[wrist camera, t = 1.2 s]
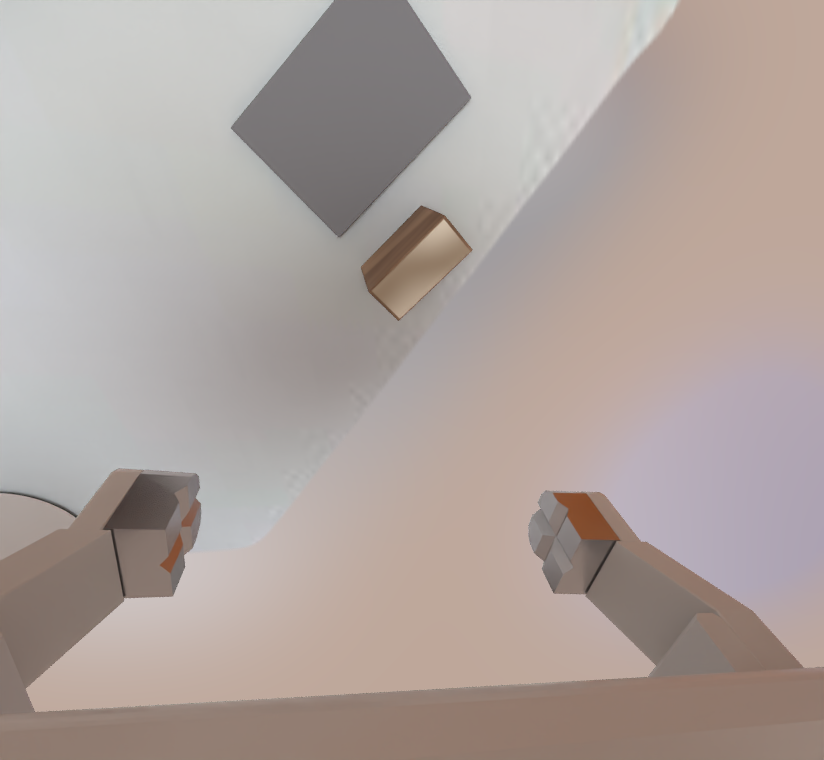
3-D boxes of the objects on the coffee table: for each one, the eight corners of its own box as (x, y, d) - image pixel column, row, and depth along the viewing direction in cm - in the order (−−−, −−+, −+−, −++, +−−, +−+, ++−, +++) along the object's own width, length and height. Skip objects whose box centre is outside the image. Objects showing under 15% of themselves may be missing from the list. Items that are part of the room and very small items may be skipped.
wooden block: (444, 233, 35) (473, 250, 28) (385, 291, 36) (398, 321, 29) (420, 205, 33) (445, 215, 26) (360, 266, 35) (368, 292, 28)
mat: (338, 235, 33) (338, 237, 33) (232, 128, 29) (230, 127, 28) (468, 99, 30) (471, 97, 30) (373, -43, 26) (374, -49, 25)
